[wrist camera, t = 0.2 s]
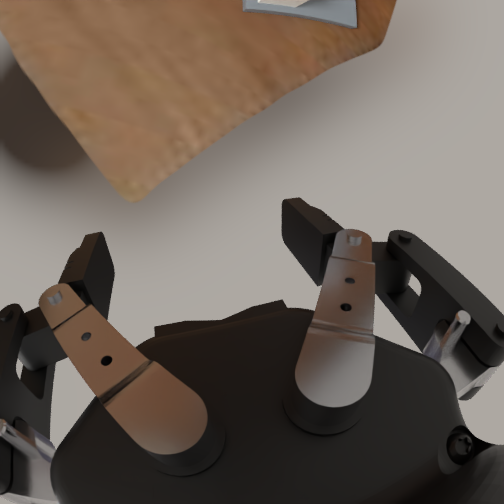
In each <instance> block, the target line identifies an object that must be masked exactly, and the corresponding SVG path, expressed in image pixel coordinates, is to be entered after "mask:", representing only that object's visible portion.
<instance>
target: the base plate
mask: <svg viewBox="0 0 504 504" xmlns="http://www.w3.org/2000/svg"><path fill="white" fill-rule="evenodd" d="M243 12H257V13H268V14H278V15H286V16H293V17H299V18H305V19H311V20H316V21H321V22H326V23H330V24H335V25H339V26H343V27H347V28H351V29H353V28H357V18H356V3H355V0H308V1H307V2H305V3H303V4H301V5H299V6H297V7H290V6H283V5H275V4H266V3H258V0H243Z"/></svg>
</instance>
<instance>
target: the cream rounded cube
mask: <svg viewBox="0 0 504 504" xmlns="http://www.w3.org/2000/svg"><path fill="white" fill-rule="evenodd" d="M307 1H308V0H258V3H266V4H275V5H283V6H290V7H297V6H299V5H301V4H303V3H305V2H307Z"/></svg>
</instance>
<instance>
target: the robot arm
mask: <svg viewBox="0 0 504 504" xmlns="http://www.w3.org/2000/svg"><path fill="white" fill-rule="evenodd" d="M282 238H283V241H284V243H285V245H286V246H287V247H288V249H289V250H290V251H291V252H292V254H293V255H294V256H295V258H296V259H297V260H298V262H299V263H300V264H301V265H302V267H303V268H304V269H305V271H306V272H307V273H308V274H309V276H310V277H311V278H312V280H313V281H314V282H315V284H316V285H317V286H320V285H322V288H321V291H320V295H319V298H318V302H317V305H316V309H315V311H313V310H309V309H302V308H287V307H286V305H285V303H284V301H283V300H278V301H274V302H270V303H266V304H262V305H258V306H253V307H250V308H248V309H246V310H244V311H241V312H239V313H237V314H234V315H232V316H230V317H227V318H225V319H222V320H210V321H209V320H208V321H182V322H177V323H172V324H166V325H161V326H155V327H154V329H155V337H152V338H150V339H148V340H146V341H144V342H143V343H141V344H140V345H138V346H137V347H134V346H132V344H130V343H129V342H128V341H127V340H126V339H125V338H124V337H123V336H122V335H121V334H120V333H119V332H118V331H117V330H116V329H115V328H114V327H113V326H112V325H111V324H110V323H109V322H108V321H107V319H108V312H109V305H110V299H111V293H112V288H113V281H114V276H115V275H114V274H115V272H114V265H113V262H112V259H111V256H110V253H109V250H108V247H107V243H106V241H105V237H104V234H103V233H102V232H97V233H93V234H88V235H85V237H84V240H83V242H82V244H81V246H80V248H77V249H76V250H75V251H74V252H73V253H72V254H71V255H70V257H69V259H68V261H67V264H66V266H65V270H63V273H62V275H61V278H60V280H59V282H58V284H56V285H54V286H52V287H50V288H48V289H47V290H46V291H45V292H44V293H43V294H42V295H41V297H40V299H39V303H38V304H39V307H37V308H35V309H32V310H30V311H28V312H26V313H24V311H23V310H22V308H21V306H20V305H19V304H10V305H8V306H6V307H5V308H3V309H2V310H1V311H0V497H2V498H4V499H7V500H9V501H11V502H13V503H16V504H504V445H495V444H491V443H488V442H485V441H482V440H480V439H478V438H477V437H475V436H474V435H473V434H472V433H471V432H470V431H469V429H468V428H467V426H466V424H465V422H464V420H463V417H462V414H461V411H460V408H459V404H458V399H459V400H469V399H471V398H472V397H473V396H474V395H475V394H476V393H477V392H478V391H479V390H480V389H481V387H482V386H483V385H484V384H485V383H486V382H487V381H488V379H489V378H490V377H491V376H492V375H493V374H494V372H495V371H496V370H497V368H498V367H499V366H500V365H501V363H502V362H503V361H504V315H503V314H502V313H501V312H500V311H499V310H498V309H497V308H496V307H495V306H494V305H493V304H492V303H491V302H490V301H489V300H488V299H487V298H486V297H485V296H484V295H483V294H482V293H481V292H480V291H479V290H478V289H477V288H476V287H475V286H474V285H473V284H472V283H471V282H470V281H468V279H466V278H465V277H464V276H463V275H462V274H461V273H460V272H459V271H458V270H456V269H455V268H454V267H453V266H452V265H451V264H450V263H448V262H447V261H446V260H445V259H444V258H443V257H441V256H440V255H439V254H438V253H437V252H436V251H434V250H433V249H432V248H431V247H429V246H428V245H427V244H426V243H425V242H423V241H422V240H421V239H419V238H418V237H417V236H416V235H414V234H412V233H410V232H407V231H403V230H394V231H391V232H390V233H389V236H388V241H387V242H372V240H371V237H370V236H369V235H368V234H366V233H365V232H362V231H359V230H355V229H344V228H342V227H341V226H340V225H339V224H338V223H336V222H335V221H334V220H332V219H331V218H330V217H329V216H327V214H325V213H324V212H323V211H322V210H320V209H318V208H315V207H313V206H310V205H309V204H307V203H306V202H305V201H303V200H302V199H301V198H292V199H284V200H283V202H282ZM411 274H413V275H414V276H415V277H416V278H417V279H418V280H419V282H420V284H421V294H420V297H419V296H418V295H417V294H416V292H414V290H413V289H412V288H411V287H410V286H409V285H408V283H409V280H410V277H411ZM375 294H377V296H378V297H379V298H380V300H381V301H382V302H383V303H384V305H385V306H386V307H387V308H388V309H389V311H390V312H391V313H392V314H393V316H394V317H395V318H396V320H397V321H398V322H399V323H400V325H401V326H402V327H403V328H404V330H405V331H406V332H407V334H408V335H409V336H410V337H411V339H412V340H413V341H414V343H415V344H416V345H417V347H418V348H419V349H420V351H421V352H422V353H423V354H421V353H418V352H416V351H413V350H411V349H408V348H406V347H403V346H400V345H397V344H395V343H393V342H390V341H388V340H385V339H383V338H380V337H378V336H375V335H373V323H374V304H375ZM67 357H69V359H70V360H71V362H72V363H73V365H74V366H75V368H76V369H77V371H78V372H79V373H80V375H81V376H82V378H83V379H84V380H85V382H86V383H87V384H88V386H89V387H90V388H91V390H92V391H93V392H94V394H95V395H96V396H95V397H94V399H93V400H92V401H91V403H90V404H89V405H88V407H87V408H86V409H85V411H84V412H83V413H82V415H81V416H80V417H79V419H78V420H77V421H76V423H75V424H74V426H73V427H72V428H71V430H70V432H68V434H67V435H66V437H65V438H64V439H63V441H62V442H61V444H60V445H59V446H58V448H57V450H56V449H55V447H54V445H53V444H52V442H51V441H50V416H51V401H52V389H53V380H54V372H55V364H56V362H58V361H60V360H63V359H65V358H67ZM18 358H19V360H20V361H21V362H22V363H23V369H22V373H21V378H20V379H19V378H18V376H17V373H16V362H17V359H18Z"/></svg>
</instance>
